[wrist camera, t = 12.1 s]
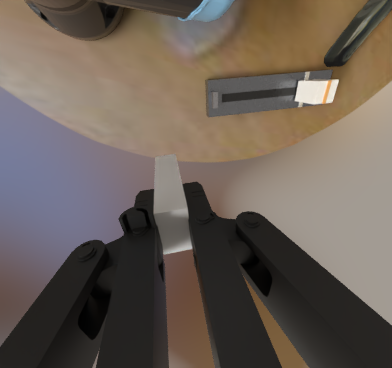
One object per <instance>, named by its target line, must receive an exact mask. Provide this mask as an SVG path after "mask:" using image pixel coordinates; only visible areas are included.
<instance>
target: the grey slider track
mask: <svg viewBox="0 0 392 368" xmlns="http://www.w3.org/2000/svg"><path fill="white" fill-rule="evenodd" d="M332 71H333V70H319V71H307V72H296V73H284V74H273V75H261V76H250V77H238V78H227V79H215V80H205V81H206V109H207V116H208V117H215V116H224V115H233V114H242V113H251V112H260V111H269V110H278V109H287V108H296V107H304V106H313V105H322V104H308V103H303V102H297V101H295V97H296V92H297V87H298V82H299V81H301V80H312V79H330V78H331V75H332Z"/></svg>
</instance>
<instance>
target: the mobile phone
mask: <svg viewBox="0 0 392 368" xmlns="http://www.w3.org/2000/svg"><path fill="white" fill-rule="evenodd" d="M391 10H392V0H369V1H368V2H367V3H366V5H365V6H364V7H363V9H362V10H361V11H360V12H359V13H358V14H357V15H356V16H355V18H354V19H353V20H352V22H351V23H350V24H349V26H348V27H347V28H346V29H345V30H344V32H343V33H342V34H341V35H340V37H339V38H338V39H337V41H336V42H335V43H334V44H333V46H332V47H331V48H330V49H329V51H328V52H327V54H326V55H325V58H324V63H325V65H326V66H327V67H333V66H343V65H344V64H345V63H346V62H347V61H348V59H349V58H350V57H351V56H352V54H353V53H354V52H355V51H356V49H357V48H358V47H359V46H360V45H361V44H362V42H363V41H364V40H365V39H366V38H367V36H368V35H369V34H370V33H371V32H372V30H373V29H374V28H375V27H376V26H377V25H378V24H379V23H380V22H381V21H382V20H383V19H384V18H385V17H386V16H387V15H388V13H389V12H390V11H391Z"/></svg>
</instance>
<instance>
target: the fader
mask: <svg viewBox="0 0 392 368" xmlns="http://www.w3.org/2000/svg"><path fill="white" fill-rule="evenodd" d="M338 82H339V80H338V79H312V80H301V81H299V82H298V87H297V92H296V97H295V101H297V102H303V103H308V104H325V103H332V102H333V98H334V95H335V92H336V88H337V85H338Z"/></svg>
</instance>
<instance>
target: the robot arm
mask: <svg viewBox="0 0 392 368" xmlns="http://www.w3.org/2000/svg"><path fill="white" fill-rule="evenodd" d="M24 1H25V2H26V3H27V4H28V6H29V7H30V8H31V9H32V10H33V11H34V12H35V13H36V14H37V15H38V16H39V17H40V18H41V19H42V20H44V21H45V22H46V23H47V24H49V25H50V26H51V27H53V28H54V29H56V30H58V31H60V32H62V33H64V34H66V35H68V36H70V37H73V38H76V39H80V40H97V39H101V38H103V37H105V36H107V35H108V34H110V33H111V32H112V31H113V30H114V29H115V28H116V26H117V25H118V23H119V21H120V19H121V17H122V14H123V10H124V7H126V8H131V9H137V10H142V11H147V12H153V13H158V14H163V15H169V16H174V17H178V19H179V20H181V21H189V20H197V21H205V22H211V21H214V20H216V19H218V18H220V17H221V16H222V15H224V14H225V12H226V11H227V10H228V9H229V8H230V6H231V5H232V3H233V2H234V0H24ZM154 183H155V184H154V189H150V190H144V191H140V192H139V193H138V195H137V196H136V200H135V205H134V207H132V208H130V209H128V210H126V211H124V212H123V213H122V214H121V215H120V217H119V221H120V224H121V226H122V229H123V231H124V236H122V237H121V238H119V239H117V240H115V241H112V242H110V243H108V244H104V243H103V242H102V241H100V240H92V241H88V242H85V243H83V244H81V245H80V246H78V247H77V248H76V249H75V250H74V251H73V252H72V253H71V254H70V255H69V257H68V258H67V260H66V261H65V262H64V263H63V265H62V266H61V267H60V269H59V270H58V271H57V272H56V274H55V275H54V277H53V278H52V279H51V280H50V282H49V283H48V284H47V286H46V287H45V288H44V290H43V291H42V292H41V294H40V295H39V296H38V298H37V299H36V300H35V302H34V303H33V304H32V306H31V307H30V308H29V310H28V311H27V312H26V313H25V315H24V316H23V317H22V319H21V320H20V322H19V323H18V324H17V325H16V327H15V328H14V330H13V331H12V332H11V333H10V335H9V336H8V338H7V339H6V340H5V341H4V343H3V344H2V345H1V347H0V368H92V366H93V364H94V361H95V359H96V356H97V354H98V351H99V355H98V360H97V365H96V368H169V360H168V335H167V310H166V286H165V264H164V260H163V253H164V254H168V253H173V252H178V251H183V250H188V249H193V256H194V264H195V267H196V272H197V277H198V282H199V288H200V293H201V298H202V302H203V308H204V313H205V318H206V324H207V329H208V334H209V339H210V344H211V349H212V354H213V359H214V365H215V368H282V367H281V364H280V362H279V360H278V357H277V355H276V353H275V350H274V348H273V346H272V343H271V341H270V338H269V336H268V334H267V331H266V329H265V327H264V324H263V322H262V320H261V317H260V315H259V313H258V310H257V308H256V306H255V303H254V301H253V298H252V296H251V294H250V291H249V289H248V287H247V284H246V282H245V279H244V277H245V278H246V280H247V281H248V283H249V284H250V285H251V287H252V288H253V290H254V291H255V292H256V294H257V295H258V297H259V298H260V299H261V301H262V302H263V304H264V305H265V306H266V308H267V309H268V310H269V312H270V313H271V315H272V316H273V318H274V319H275V320H276V322H277V323H278V325H279V326H280V327H281V329H282V330H283V332H284V333H285V334H286V336H287V337H288V338H289V340H290V341H291V343H292V344H293V345H294V347H295V348H296V350H297V351H298V353H299V354H300V355H301V357H302V358H303V360H304V361H305V362H306V363H307V365H308V366H309V367H310V368H392V325H390V324H389V323H388V322H387V321H386V320H384V319H383V318H382V317H381V316H380V315H379V314H378V313H376V312H375V311H374V310H373V309H372V308H370V307H369V306H368V305H367V304H366V303H365V302H363V301H362V300H361V299H360V298H359V297H358V296H356V295H355V294H354V293H353V292H351V291H350V290H349V289H348V288H347V287H346V286H345V285H343V284H342V283H341V282H340V281H339V280H337V279H336V278H335V277H334V276H333V275H331V273H329V272H328V271H327V270H326V269H325V268H323V267H322V266H321V265H320V264H319V263H318V262H316V261H315V260H314V259H313V258H311V256H309V255H308V254H307V253H306V252H305V251H303V250H302V249H301V248H300V247H299V246H298V245H296V244H295V243H294V242H293V241H292V240H290V239H289V238H288V237H287V236H286V235H285V234H283V233H282V232H281V231H280V230H279V229H277V228H276V227H275V226H274V225H273V224H272V223H271V222H269V221H268V220H267V219H266V218H265V217H263V216H262V215H260V214H258V213H255V212H249V211H248V212H242V213H241V214H239V215H238V216H237V218H236V219H225V218H221V217H218V216H217V215H216V213H215V212H213V211H212V210H211V207H210V204H209V202H208V200H207V197H206V195H205V192H204V190H203V187H202V185H201V184H199V183H198V182H192V183H185V184H182V181H181V177H180V172H179V168H178V164H177V159H176V155H175V154H171V155H164V156H156V157H155V182H154ZM242 274H243V275H242ZM243 276H244V277H243ZM99 349H100V350H99Z"/></svg>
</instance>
